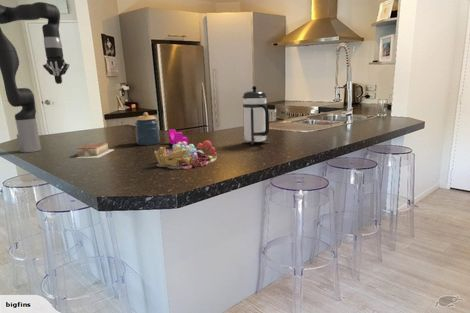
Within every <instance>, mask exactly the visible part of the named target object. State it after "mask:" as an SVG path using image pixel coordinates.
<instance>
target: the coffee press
mask: <svg viewBox="0 0 470 313" xmlns="http://www.w3.org/2000/svg"><path fill="white" fill-rule="evenodd" d="M251 89H252V90H249V91H246V92H244V93H243V95H242V99H243V100H242V109H243V110H242V111H243V116H242V117H243V139H242V140H241V142H242V143H246V142H249V143H250V142H251V143H250V146H254V145H255V143H260V142H265V143H266V144H269V143H270V139H269V137H268V135H269V131H270V114H269V112H270V111H269V107H268V105H267V104H268V103H267V98H268V96H267V94H266V92H265V91H262V90H257V86H256V85H253V86H252V88H251ZM244 140H245V141H244Z"/></svg>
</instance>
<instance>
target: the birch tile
mask: <svg viewBox="0 0 470 313" xmlns="http://www.w3.org/2000/svg"><path fill="white" fill-rule="evenodd" d="M108 146H109V145H108V142H89V143H86V144H84V145H81V146H79V147H76V148H75V149H76V155H77V157H79V156H98V155H100V154H102V153H104V152H106V151H108V149H109V147H108Z"/></svg>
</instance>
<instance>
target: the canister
mask: <svg viewBox="0 0 470 313" xmlns="http://www.w3.org/2000/svg"><path fill="white" fill-rule="evenodd" d="M135 120H136V122H134V125H135V136H136V143H137V145H139V146H152V145H157V144H159V143H160V141H161V138H160V131H159V130H160V129H159V125H158V124H159V121H157V117H156V116H154V115H149V113H148V112H146V111H145V112H143V114H142V115H139V116H138V117H137V118H135Z"/></svg>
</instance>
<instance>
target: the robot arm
mask: <svg viewBox="0 0 470 313" xmlns="http://www.w3.org/2000/svg"><path fill="white" fill-rule="evenodd" d="M40 19H46V20H47V23H45V24H43V25H42V28H41V29H42V35H43V44H44V49H45V50H44V51H45V57H46V63H45V64H43V65H42V67H43V68H44V69H45V70H46V71H47V72H48V74H49V76H50V75H51V76H53V77H54V81H55V83H56V85H59V84H60V85H61V84H63V77H62V76H63V75H65V74H67V71H68V70H69V68H70V64H69V63H67V62H66V61H65V59H64V53H63V45H62V40H61V37H60V30H59V28H60V23H61V22H60V20H61V13H60V10H59V8H58V7H57V6H56V5H54V4H51V3H48V2H42V1H39V2H34V3H29V4H28V3H25V4H19V5H16V6H14V7H11V6H5V5H2V4H0V25H5V24H9V23H12V22H17V21H36V20H40ZM19 67H20V60H19V56H18V53H17V49H16V47H15V46H14V45H13V43H12V42H11V41H10V40H9V38H8V37H7V36H6V35H5V33H4V32H3V30H2V28H1V27H0V72H1V76H2V80H3V85H4V91H5V95H6V99H7V102H8V103H9V105H10V106H12V107H14V108H15V107H17V108H18V107H21V110H20V111H18V112H17V113H15V114H14V120H15V125H16V129H17V133H16V139H17V145H18V148H19V149H18V150H19V152H20V153H33V152H39V151H41V150H42V146H41V140H40V135H39V129H38V124H37V117H36V113H37V110H36V103H35V102H36V101H35V100H36V99H35V95H34V93H33V91H32V90H31V89H30V88H29V87H28V88H27V87H23V88H22V87H21V88H20V87H19V88H18V86H17V83H16V75H17V72H18V69H19Z"/></svg>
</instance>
